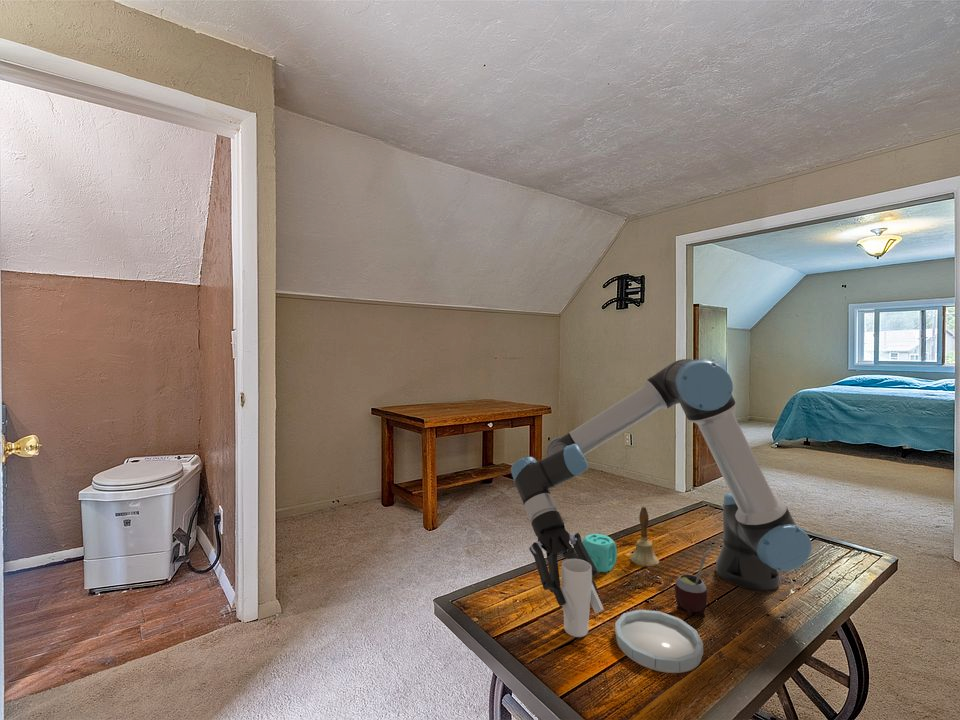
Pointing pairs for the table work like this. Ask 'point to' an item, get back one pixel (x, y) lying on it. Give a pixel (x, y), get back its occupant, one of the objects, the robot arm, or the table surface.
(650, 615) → the dish
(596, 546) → the decorative dice
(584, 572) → the drinking glass
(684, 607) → the mate gourd
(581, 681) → the table surface
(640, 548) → the hand bell
